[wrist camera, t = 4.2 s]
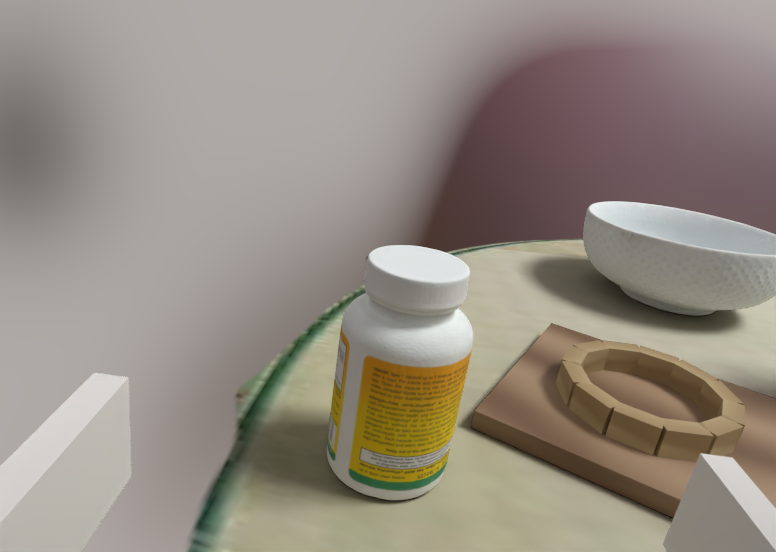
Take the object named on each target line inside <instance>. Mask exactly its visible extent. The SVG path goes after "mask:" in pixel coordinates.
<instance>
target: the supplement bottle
mask: <svg viewBox="0 0 776 552" xmlns="http://www.w3.org/2000/svg"><path fill="white" fill-rule="evenodd" d="M469 276H470V269H469V267H468V266H467V264H466V263H464V262H463V261H462V260H460V259H459V258H457V257H455V256H453V255H451V254H448V253H445V252H442V251H438V250H435V249H430V248H425V247H419V246H407V245H393V246H385V247H380V248H377V249H375V250H373V251H372V252H371V253H370V254H369V256H368V260H367V267H366V273H365V278H364V285H365V291H366V293H365V294H363V295H361V296H359V297H358V298H356V299H355V300H354V301H353V302H352V303H351V304H350V305H349V306H348V308H347V309H346V311H345V313H344V316H343V319H342V325H341V332H340V340H339V348H338V356H337V364H336V373H335V381H334V388H333V397H332V406H331V412H330V420H329V432H328V441H327V458H328V461H329V464H330V466H331V468H332V470H333V472H334V473H335V474H336V476H337V477H338V478H339V479H340V480H341V481H342V482H343V483H345V484H346V485H347V486H349V487H350V488H352V489H354V490H356V491H357V492H360V493H362V494H365V495H368V496H373V497H377V498H380V499H385V500H406V499H411V498H415V497H418V496H420V495H422V494H424V493H426V492H428V491H429V490H431V489H432V488H433V487H435V486H436V485H437V484H438V483H439V481H440V480H441V478H442V476H443V474H444V471H445V467H446V463H447V460H448V455H449V450H450V446H451V441H452V437H453V432H454V428H455V423H456V419H457V414H458V409H459V404H460V400H461V396H462V392H463V387H464V382H465V378H466V373H467V368H468V364H469V359H470V354H471V350H472V345H473V331H472V327H471V325H470V322H469V320H468V319H467V317H466V316H465V315H464V313H463V312H462V311H461V310H460V309H458V308H459V307H460V306H461V305H462V303H463V302H464V301H465V299H466V297H467V288H468V283H469Z"/></svg>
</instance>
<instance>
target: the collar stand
mask: <svg viewBox="0 0 776 552" xmlns="http://www.w3.org/2000/svg"><path fill="white" fill-rule="evenodd" d="M471 428H474V429H476V430H478V431H480V432H483V433H485V434H487V435H489V436H491V437H494V438H496V439H498V440H500V441H503V442H505V443H507V444H509V445H512V446H514V447H516V448H518V449H520V450H523V451H525V452H527V453H529V454H532V455H534V456H536V457H538V458H540V459H543V460H545V461H547V462H549V463H552V464H554V465H556V466H558V467H560V468H563V469H565V470H567V471H569V472H572V473H574V474H576V475H578V476H580V477H583V478H585V479H587V480H589V481H592V482H594V483H596V484H598V485H600V486H603V487H605V488H607V489H609V490H612V491H614V492H616V493H618V494H620V495H623V496H625V497H627V498H629V499H632V500H634V501H636V502H638V503H640V504H643V505H645V506H647V507H649V508H652V509H654V510H656V511H658V512H661V513H663V514H665V515H667V516H669V517H672V518H674V516H675V513H676V511H677V508H678V506H679V504H680V501H681V499H682V496H683V494H684V491H685V489H686V487H687V484H688V482H689V479H690V477H691V474H692V472H693V469H694V467H695V465H696V462H697V460H698V457H699V455H700V453H702V454H710V455H717V456H725V457H732V458H733V459H734V460H735V461H736V462H737V463H738V465H739V466H740V467H741V468H742V469H743V470H744V472H745V473H746V474H747V475H748V476H749V478H750V479H751V480H752V481H753V482H754V483H755V485H756V486H757V487H758V488H759V489H760V490H761V492H762V493H763V494H764V495H765V496H766V498H767V499H768V500H769V501H770V502H771V503H772V505H773V506H774V507H775V508H776V398H773V397H770V396H767V395H764V394H761V393H758V392H755V391H752V390H749V389H746V388H743V387H740V386H737V385H734V384H731V383H728V382H725V381H722V380H719V379H717V378H715V377H713V376H711V375H709V374H708V373H706V372H704V371H702V370H700V369H698V368H697V367H695V366H693V365H691V364H689V363H688V362H686V361H684V360H680V361H679V358H677V357H674V356H671V355H667V354H664V353H661V352H658V351H655V350H652V349H649V348H646V347H643V346H640V348H639V347H638V345H635V344H627V343H619V342H612V341H604V340H600V339H597V338H594V337H591V336H588V335H585V334H582V333H579V332H576V331H573V330H570V329H567V328H564V327H561V326H558V325H555V324H552V323H551V324H550V326H549V327H548V328H547V329H546V330H545V331H544V332H543V334H542V335H541V336H540V337H539V338H538V339H537V340H536V341H535V343H534V344H533V345H532V346H531V347H530V348H529V349H528V351H527V352H526V353H525V354H524V355H523V356H522V357H521V358H520V360H519V361H518V362H517V363H516V364H515V365H514V366H513V368H512V369H511V370H510V371H509V372H508V373H507V374H506V375H505V377H504V378H503V379H502V380H501V381H500V382H499V383H498V385H497V386H496V387H495V388H494V389H493V390H492V391H491V392H490V394H489V395H488V396H487V397H486V398H485V399H484V400H483V402H482V403H481V404H480V405H479V406H478V407H477V408H476V409H475V411H474V415H473V420H472V424H471Z"/></svg>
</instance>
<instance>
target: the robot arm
mask: <svg viewBox="0 0 776 552" xmlns="http://www.w3.org/2000/svg"><path fill="white" fill-rule="evenodd" d="M130 449H131V448H130V412H129V378H128V377H122V376H114V375H107V374H100V373H94V374H93V375H92V376H90V377H89V378H88V379H87V381H85V383H83V384H82V385H81V386H80V387H79V388H78V390H76V391H75V392H74V393H73V394H72V395H71V396H70V397H69V398H68V399H67V400H66V401H65V402H64V404H62V405H61V406H60V407H59V408H58V409H57V410H56V411H55V412H54V413H53V414H52V415H51V416H50V417H49V418H48V419H47V420H46V421H45V422H44V423H43V424H42V425H41V426H40V427H39V428H38V429H37V430H36V431H35V432H34V433H33V434H32V435H31V436H30V437H29V438H28V439H27V440H26V441H25V442H24V443H23V444H22V445H21V446H20V447H19V448H18V449H17V450H16V451H15V452H14V453H13V454H12V455H11V456H10V457H9V458H8V459H7V460H6V461H5V462H4V463H3V464H2V465H1V466H0V552H81V551H82V550H83V548H84V547H85V545H86V543H87V542H88V541H89V539H90V538H91V536H92V535H93V533H94V532H95V530H96V529H97V527H98V526H99V524H100V523H101V521H102V520H103V518H104V517H105V515H106V514H107V512H108V510H109V509H110V507H111V506H112V504H113V503H114V501H115V500H116V498H117V497H118V495H119V494H120V492H121V491H122V489H123V488H124V486H125V485H126V483H127V482H128V480H129V479H130V477H131V450H130ZM663 545H664V547H665V549H666V551H667V552H776V508H775V507H774V506H773V505H772V503H771V502H770V501H769V500H768V499H767V498H766V496H765V495H764V494H763V493H762V492H761V490H760V489H759V488H758V487H757V486H756V485H755V483H754V482H753V481H752V480H751V479H750V478H749V476H748V475H747V474H746V473H745V472H744V470H743V469H742V468H741V467H740V466H739V465H738V463H737V462H736V461H735V460H734V459H733V458H732V457H725V456H717V455H710V454H702V453H700V455H699V457H698V460H697V462H696V465H695V467H694V469H693V472H692V474H691V477H690V479H689V482H688V484H687V487H686V489H685V491H684V494H683V496H682V499H681V501H680V504H679V506H678V508H677V511H676V513H675V516H674V518H673V521H672V523H671V526H670V528H669V530H668V533H667V535H666V538H665V540H664V543H663Z"/></svg>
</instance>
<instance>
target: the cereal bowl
mask: <svg viewBox="0 0 776 552" xmlns="http://www.w3.org/2000/svg"><path fill="white" fill-rule="evenodd" d="M583 232H584V234H583V237H584V238H583V241H584V247H585V251H586V253H587V256H588V258H589V259H590V262H591V263H592V265H593V266H594V267H595V268H596V269H597V270H598V271H599V272H600V273H601V274H602V275H604V276H605V277H606V278H608V279H609V280H610V281H612V282H615V283H616V284H617V285H620V288H621V289H622V291H623V292H624V293H625V294H627V295H628V296H630V297H631V298H633V299H635V300H637V301H639V302H641V303H643V304H646V305H649V306H651V307H654V308H658V309H661V310H665V311H668V312H673V313H678V314H684V315H693V316H702V315H708V314H711V313H713V312H714V311H716V310H736V309H743V308H749V307H753V306H755V305H759V304H761V303H763V302H765V301H767V300H769V299H770V298H773V297H774V296H776V235H775V234H772V233H770V232H767V231H764V230H761V229H758V228H755V227H752V226H749V225H746V224H742V223H739V222H735V221H731V220H728V219H723V218H720V217H715V216H712V215H707V214H703V213H698V212H693V211H688V210H683V209H678V208H672V207H666V206H659V205H651V204H644V203H634V202H599V203H595V204H592V205H590V206H589V208H588V210H587V213H586V218H585V224H584V230H583Z"/></svg>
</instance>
